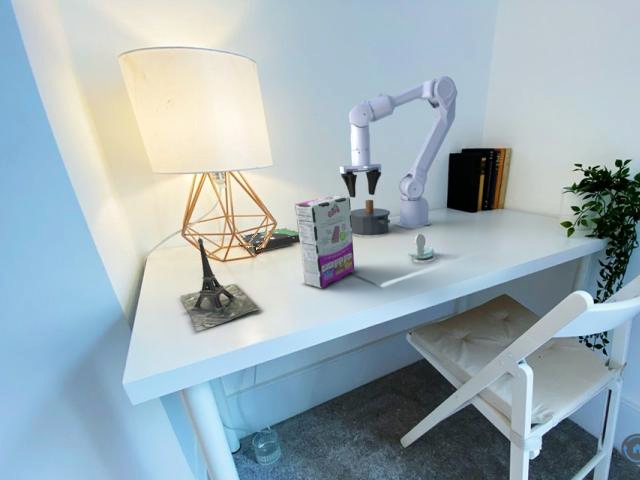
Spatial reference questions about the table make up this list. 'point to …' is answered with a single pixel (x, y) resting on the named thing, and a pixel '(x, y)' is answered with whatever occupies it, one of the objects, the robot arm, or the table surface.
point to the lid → (369, 211)
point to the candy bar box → (325, 239)
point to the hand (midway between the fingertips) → (362, 195)
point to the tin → (369, 225)
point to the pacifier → (422, 250)
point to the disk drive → (272, 239)
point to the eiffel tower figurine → (215, 299)
